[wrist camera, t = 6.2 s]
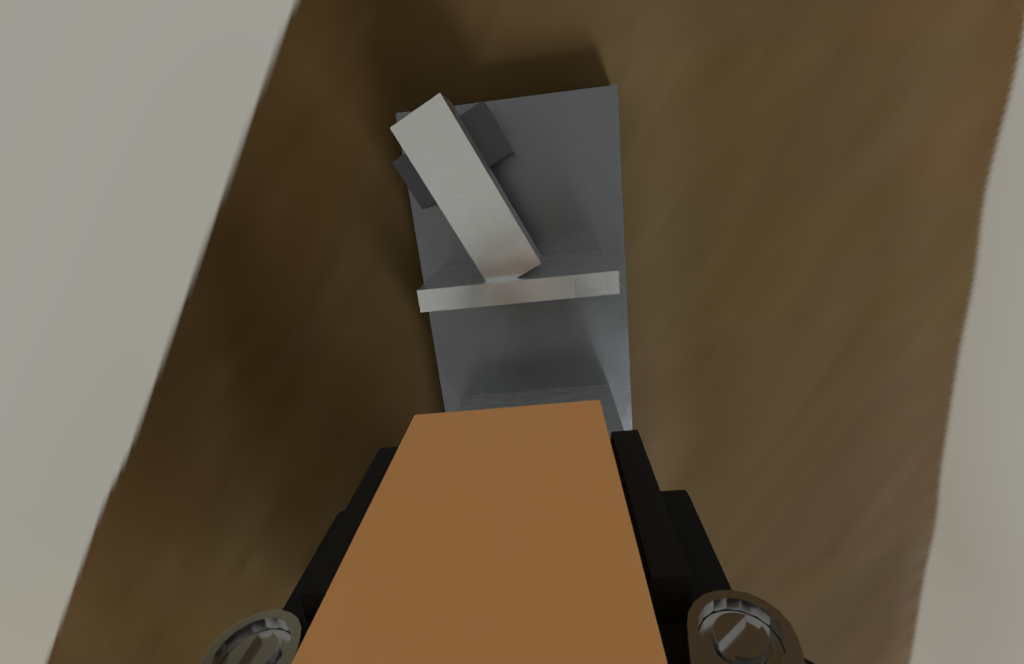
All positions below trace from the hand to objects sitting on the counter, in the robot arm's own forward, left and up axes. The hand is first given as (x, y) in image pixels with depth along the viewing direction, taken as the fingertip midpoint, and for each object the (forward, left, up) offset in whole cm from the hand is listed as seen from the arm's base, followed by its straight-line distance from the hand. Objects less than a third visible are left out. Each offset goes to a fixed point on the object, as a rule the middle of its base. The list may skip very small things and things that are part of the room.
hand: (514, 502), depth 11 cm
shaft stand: (0, 0, -14) cm, 14 cm away
